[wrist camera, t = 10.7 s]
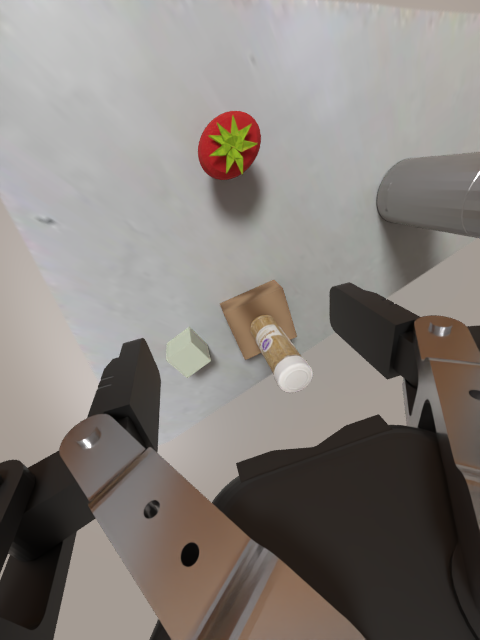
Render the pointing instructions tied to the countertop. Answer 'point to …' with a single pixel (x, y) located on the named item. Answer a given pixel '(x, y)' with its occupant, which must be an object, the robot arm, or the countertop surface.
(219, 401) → the countertop surface
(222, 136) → the strawberry
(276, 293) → the walnut block
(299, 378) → the sprinkles bottle
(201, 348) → the sage cube
